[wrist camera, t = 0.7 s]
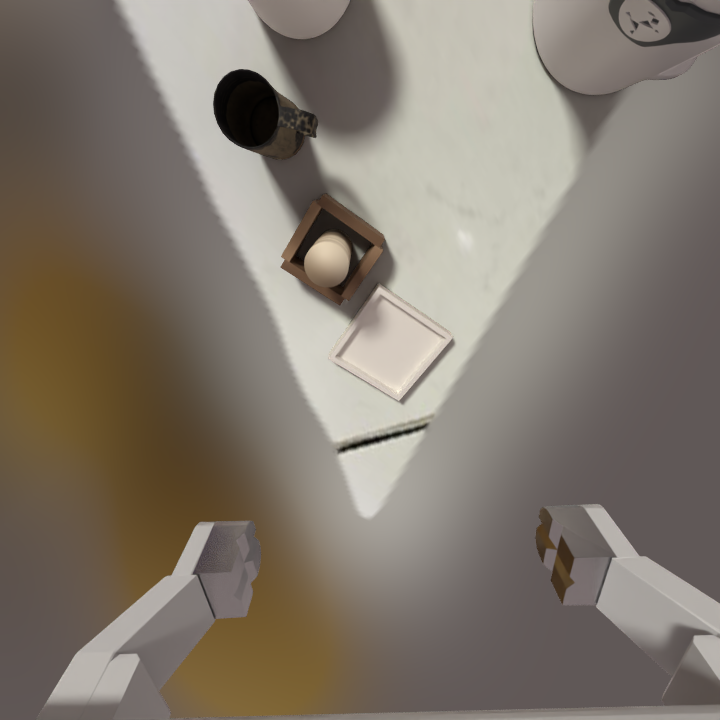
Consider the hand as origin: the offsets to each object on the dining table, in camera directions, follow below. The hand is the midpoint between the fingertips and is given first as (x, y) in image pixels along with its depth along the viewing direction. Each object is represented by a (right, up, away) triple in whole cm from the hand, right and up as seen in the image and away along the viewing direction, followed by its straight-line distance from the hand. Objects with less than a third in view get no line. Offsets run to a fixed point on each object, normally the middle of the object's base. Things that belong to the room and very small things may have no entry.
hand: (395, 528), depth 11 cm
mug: (-8, +28, +27) cm, 40 cm away
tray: (+3, +7, +37) cm, 38 cm away
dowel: (-4, +18, +32) cm, 37 cm away
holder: (-4, +18, +32) cm, 37 cm away
